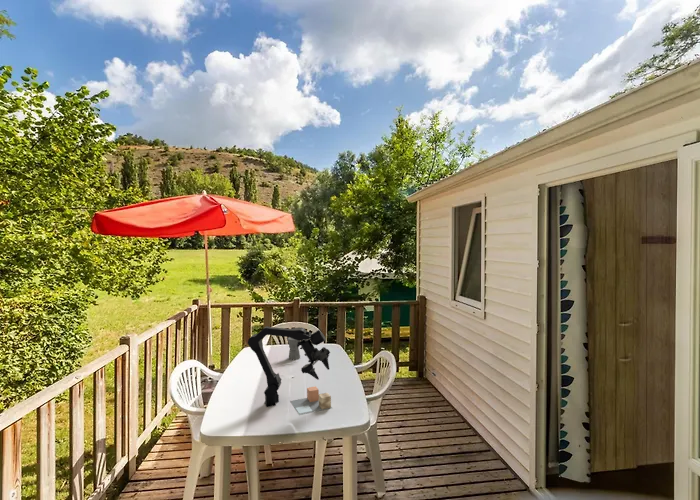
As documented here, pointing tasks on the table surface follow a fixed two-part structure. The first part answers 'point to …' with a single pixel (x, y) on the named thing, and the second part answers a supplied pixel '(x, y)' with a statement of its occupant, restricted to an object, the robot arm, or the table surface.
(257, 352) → the robot arm
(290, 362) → the table surface
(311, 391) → the terracotta block
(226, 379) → the table surface
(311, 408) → the board
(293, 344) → the coffeepot
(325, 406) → the maple block
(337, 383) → the table surface
